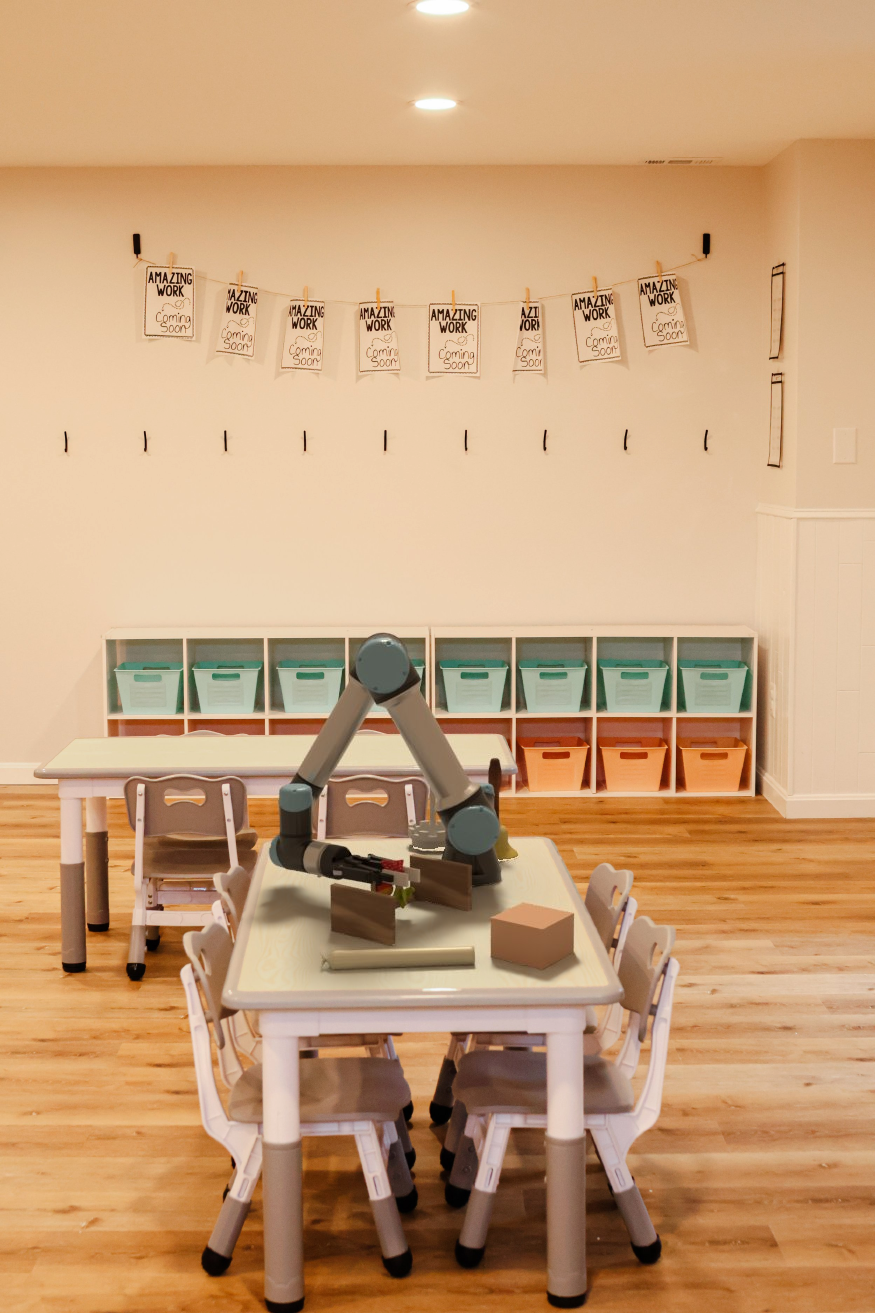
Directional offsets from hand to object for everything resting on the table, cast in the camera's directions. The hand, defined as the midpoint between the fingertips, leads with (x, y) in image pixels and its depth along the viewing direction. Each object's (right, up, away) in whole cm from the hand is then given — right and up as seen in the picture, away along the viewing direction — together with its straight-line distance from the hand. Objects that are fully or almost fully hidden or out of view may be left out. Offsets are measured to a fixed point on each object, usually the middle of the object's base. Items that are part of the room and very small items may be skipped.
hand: (413, 878), depth 278 cm
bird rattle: (-4, -7, +4) cm, 9 cm away
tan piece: (-3, -14, -23) cm, 27 cm away
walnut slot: (-2, -10, +4) cm, 11 cm away
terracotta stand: (+24, -12, -17) cm, 32 cm away
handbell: (+20, -4, +54) cm, 58 cm away
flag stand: (+4, -3, +63) cm, 63 cm away
